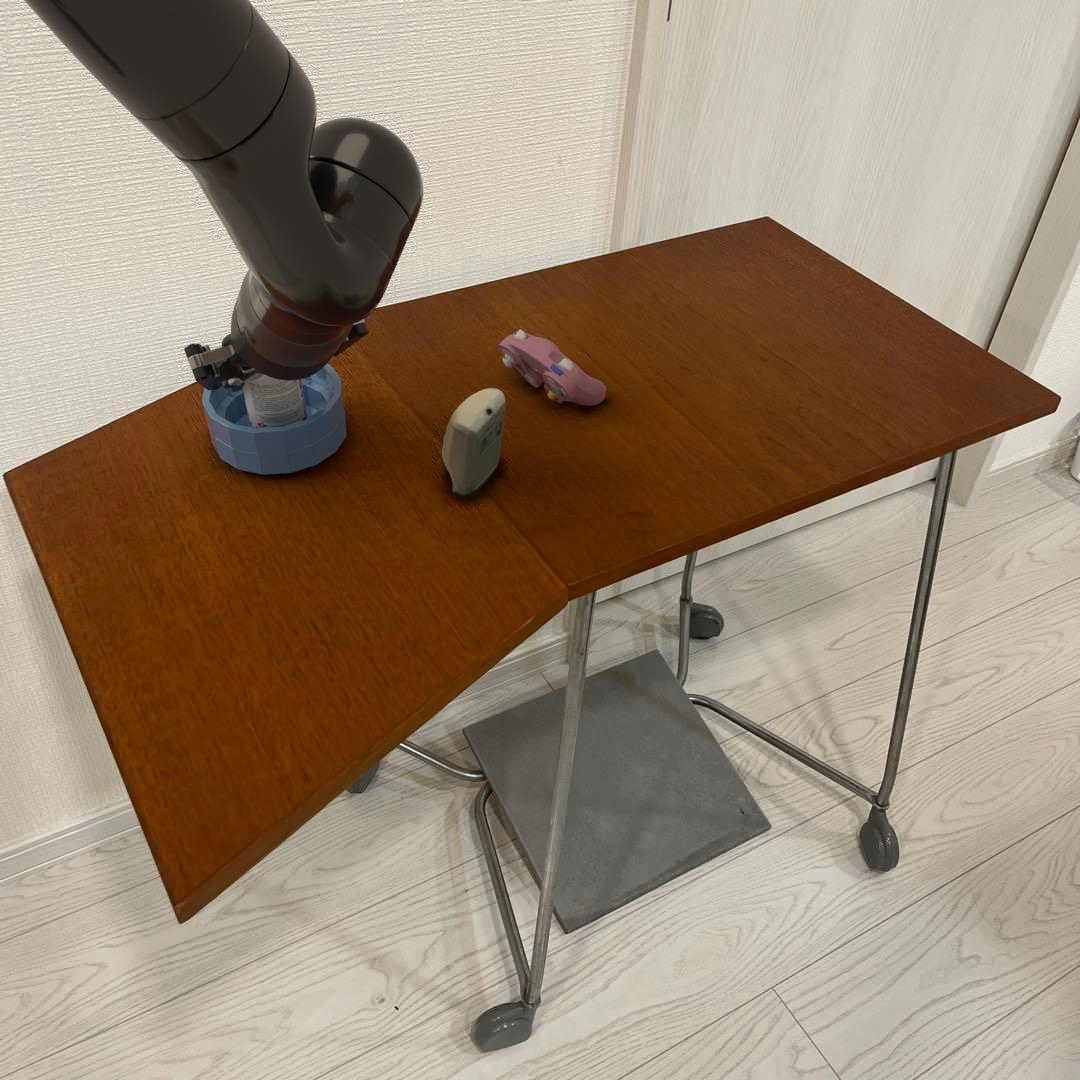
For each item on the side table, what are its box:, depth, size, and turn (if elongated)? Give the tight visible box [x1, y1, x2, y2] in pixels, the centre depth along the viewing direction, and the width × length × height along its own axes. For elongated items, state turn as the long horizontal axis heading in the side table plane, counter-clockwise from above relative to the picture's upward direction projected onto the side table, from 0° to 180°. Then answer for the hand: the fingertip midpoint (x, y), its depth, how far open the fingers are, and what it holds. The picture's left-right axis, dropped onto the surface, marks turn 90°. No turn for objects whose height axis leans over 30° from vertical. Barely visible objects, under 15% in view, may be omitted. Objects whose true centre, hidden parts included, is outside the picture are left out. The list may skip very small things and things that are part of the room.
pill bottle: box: [243, 375, 307, 428], centre depth 83 cm, size 5×5×8 cm
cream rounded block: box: [441, 387, 507, 500], centre depth 81 cm, size 6×5×8 cm
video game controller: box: [497, 329, 607, 407], centre depth 91 cm, size 10×5×7 cm, turn 43°
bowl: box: [201, 363, 347, 476], centre depth 86 cm, size 11×11×5 cm
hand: (263, 370), depth 84 cm, fingers closed on pill bottle, 4 cm apart
